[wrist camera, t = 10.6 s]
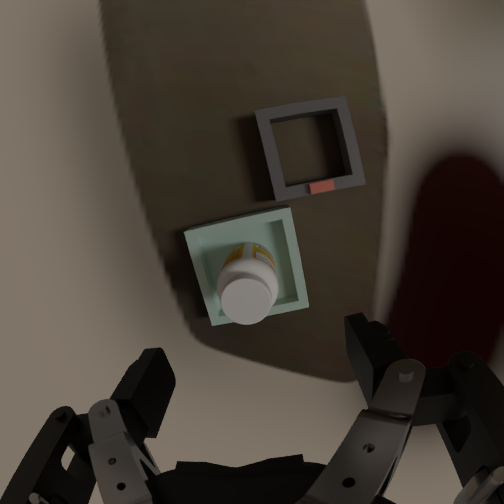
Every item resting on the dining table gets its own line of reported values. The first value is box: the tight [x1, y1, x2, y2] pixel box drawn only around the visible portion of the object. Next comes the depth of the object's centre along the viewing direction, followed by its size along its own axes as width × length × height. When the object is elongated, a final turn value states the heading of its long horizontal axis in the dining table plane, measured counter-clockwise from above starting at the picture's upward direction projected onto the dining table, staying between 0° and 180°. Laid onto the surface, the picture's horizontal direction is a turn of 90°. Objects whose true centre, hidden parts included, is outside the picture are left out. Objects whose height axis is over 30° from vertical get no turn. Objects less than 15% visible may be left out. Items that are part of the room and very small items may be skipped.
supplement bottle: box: [217, 242, 279, 325], centre depth 26 cm, size 5×5×10 cm
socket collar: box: [255, 96, 366, 202], centre depth 27 cm, size 9×9×3 cm
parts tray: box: [184, 205, 309, 326], centre depth 31 cm, size 11×11×2 cm
